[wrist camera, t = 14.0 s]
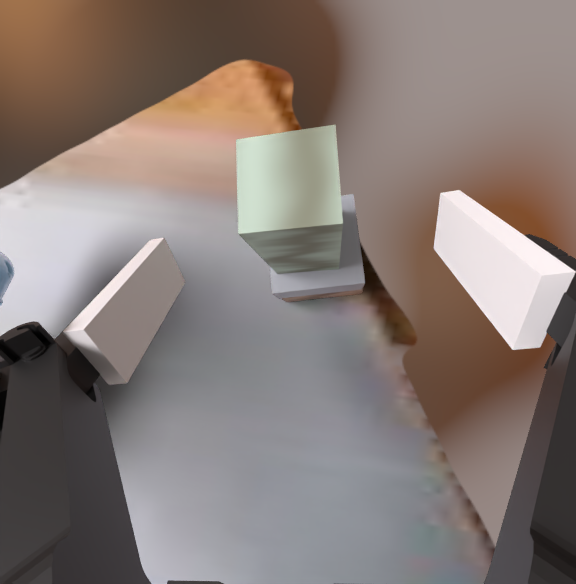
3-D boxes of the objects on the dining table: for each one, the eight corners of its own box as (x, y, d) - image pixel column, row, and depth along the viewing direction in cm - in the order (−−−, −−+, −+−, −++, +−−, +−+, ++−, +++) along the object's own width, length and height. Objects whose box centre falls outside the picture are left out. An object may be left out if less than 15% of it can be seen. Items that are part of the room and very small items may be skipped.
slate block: (279, 298, 32) (271, 293, 28) (273, 222, 34) (264, 208, 30) (361, 289, 31) (365, 282, 27) (351, 210, 32) (353, 193, 28)
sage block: (277, 273, 29) (238, 233, 17) (275, 216, 29) (236, 139, 18) (338, 269, 28) (342, 223, 16) (334, 209, 28) (335, 124, 17)
